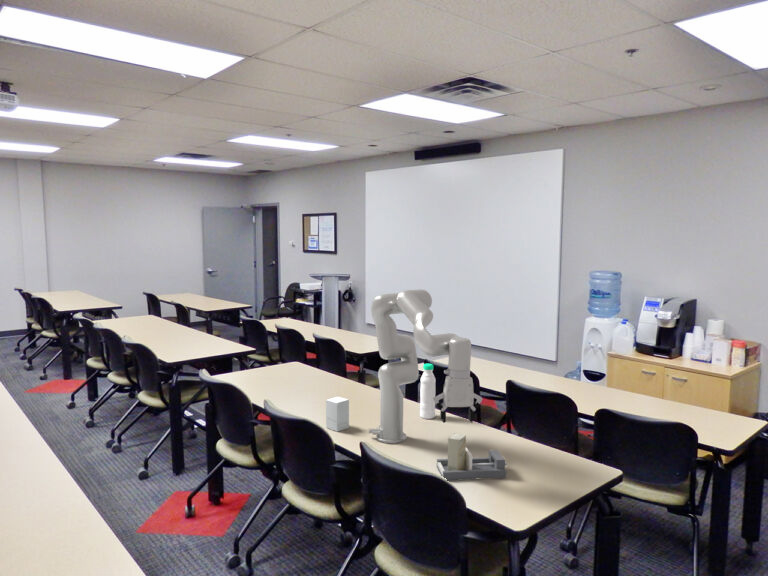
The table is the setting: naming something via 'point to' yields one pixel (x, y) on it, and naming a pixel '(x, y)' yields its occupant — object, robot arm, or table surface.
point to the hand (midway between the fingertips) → (457, 421)
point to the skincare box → (456, 452)
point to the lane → (476, 468)
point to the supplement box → (337, 413)
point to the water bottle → (427, 393)
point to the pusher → (469, 463)
